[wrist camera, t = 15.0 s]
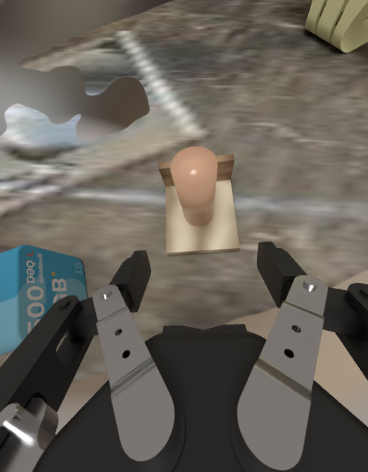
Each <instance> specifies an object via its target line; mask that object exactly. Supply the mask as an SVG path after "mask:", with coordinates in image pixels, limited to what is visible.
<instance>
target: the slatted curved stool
mask: <svg viewBox="0 0 368 472" xmlns="http://www.w3.org/2000/svg"><path fill="white" fill-rule="evenodd" d="M305 29H307V30H308V31H310V32H312V33H313V34H315V35H317V36H318V37H320V38H322V39H323V40H325V41H327V42H328V43H330V44H332V45H333V46H335V47H336V48H338V49H340V50H341V51H343V52H345V53H348V52H350V51H352V50H354V49H356V48H358V47H359V46H361V45H363V44H365V43H367V42H368V0H312V4H311V8H310V11H309V14H308V17H307V20H306V24H305Z"/></svg>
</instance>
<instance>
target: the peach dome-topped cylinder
mask: <svg viewBox="0 0 368 472" xmlns="http://www.w3.org/2000/svg"><path fill="white" fill-rule="evenodd" d="M217 168H218V162H217V158H216V156H215V155H214V154H213V153H212V152H211V151H210V150H208V149H206V148H203V147H189V148H186V149H183V150H181V151H180V152H179V153H177V154H176V155H175V157H174V158H173V160H172V162H171V166H170V170H171V174H172V178H173V181H174V184H175V187H176V191H177V194H178V197H179V201H180V204H181V207H182V211H183V214H184V217H185V219H186V221H187V222H188V223H189V224H191V225H193V226H204V225H206V224H208V223H209V222H210V221H211V219H212V218H213V214H214V203H215V191H216V179H217Z"/></svg>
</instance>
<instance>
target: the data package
mask: <svg viewBox="0 0 368 472" xmlns="http://www.w3.org/2000/svg"><path fill="white" fill-rule="evenodd" d="M69 295H75V296H77V297H78V299H79V301H81V300H84V299H87V292H86V284H85V277H84V269H83V264H82V262H81V261H80V260H79V259H78V258H76V257H72V256H69V255H65V254H61V253H57V252H53V251H49V250H45V249H42V248H38V247H34V246H30V245H21V246H19V247H16V248H13V249H10V250H8V251H5V252H2V253H0V355H3V354H6V353H9V352H12V351H14V350H15V349H16V348H17V347H18V346H19V344H20V343H21V342H22V341H23V340H24V339H25V337H26V336H27V335H28V334H29V333H30V331H31V330H32V329H33V328H34V327H35V325H36V324H37V323H38V322H39V321H40V319H41V318H42V317H43V316H44V315H45V313H46V312H47V311H48V310H49V309H50V308H51V306H52V305H53V304H54V303H55V302H57V301H58V300H60V299H61V298H63V297H66V296H69ZM64 335H65V334H64Z"/></svg>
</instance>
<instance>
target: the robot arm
mask: <svg viewBox="0 0 368 472" xmlns="http://www.w3.org/2000/svg"><path fill="white" fill-rule="evenodd" d="M10 249H13V248H12V247H8V246H3V245H0V253H2V252H5V251H8V250H10ZM257 267H258V270H259V272H260V274H261V276H262V278H263V280H264V282H265V284H266V286H267V288H268V290H269V292H270V294H271V296H272V298H273V299H274V301H275V303H276V305H277V307H278V308H280V310H279V312H278V315H277V317H276V319H275V322H274V324H273V326H272V329H271V331H270V333H269V336H268V338H267V340H266V339H264V338H263V337H261V336H259V335H257V334H254V333H251V332H247V330H246V327H245V324H240V325H239V324H237V325H236V324H235V325H221V326H218V327H214V328H210V329H207V330H200V329H195V328H191V327H187V326H164V327H163V333H160V334H158V335H155V336H153V337H152V338H150V339H149V340H147V341H146V342H144V340H143V338H142V336H141V334H140V332H139V330H138V328H137V325H136V323H135V321H134V319H133V317H132V315H131V312H138V309H139V306H140V303H141V301H142V298H143V295H144V292H145V289H146V286H147V284H148V281H149V278H150V275H151V267H150V263H149V259H148V255H147V252H146V250H140V251H135V252H134V253H133V255H132V257H131V258H128V259H126V260H125V261H124V262H123V263H122V265H121V266H120V268H119V270H118V272H117V273H116V274H115V276H114V277H113V279H112V281H111V282H110V284H109V285H107V286H104V287H102V288H100V289H99V290H97V291H96V292H95V294H94V295H93V297H91V298H88V299H84V300H81V301H79V299H78V297H77V296H75V295H69V296H66V297H63V298H61V299H60V300H58V301H57V302H55V303H54V304H53V305H52V306H51V308H50V309H49V310H48V311H47V312H46V313H45V315H44V316H43V317H42V318H41V319H40V321H39V322H38V323H37V324H36V325H35V327H34V328H33V329H32V330H31V331H30V333H29V334H28V335H27V336H26V337H25V339H24V340H23V341H22V342H21V343H20V344H19V346H18V347H17V348H16V349H15V350H14V352H13V353H12V354H11V355H10V356H9V358H8V359H7V360H6V361H5V362H4V364H3V365H2V366H1V367H0V472H368V427H367V426H366V425H365V424H364V423H363V422H361V421H360V420H359V419H358V418H357V417H356V416H354V415H353V414H352V413H351V412H350V411H349V410H348V409H346V408H345V407H344V406H343V405H342V404H341V403H339V402H338V401H337V400H336V399H335V398H334V397H333V396H332V395H330V394H329V393H328V392H327V391H326V390H324V388H322V387H321V386H320V385H319V384H318V383H317V382H315V381H314V380H313V379H314V374H315V368H316V362H317V356H318V351H319V345H320V340H321V334H322V329H324V330H328V331H332V332H335V333H336V335H337V336H338V338H339V339H340V340H341V342H342V343H343V345H344V346H345V348H346V349H347V351H348V352H349V354H350V355H351V357H352V358H353V360H354V361H355V362H356V364H357V365H358V367H359V368H360V370H361V371H362V373H363V374H364V376H365V377H366V379H367V380H368V285H367V284H362V283H354V284H351V285H349V287H348V290H341V289H335V288H329V287H327V285H326V284H325V283H324V282H323V281H321V280H320V279H318V278H315V277H312V276H308V275H307V274H306V273H305V272H304V271H303V269H302V268H301V267H300V266H299V265H298V264H297V263H296V262H295V260H294V259H293V258H292V257H291V256H290V255H289V253H288V252H286V251H285V250H283V249H281V248H276V246H275V245H274V244H273V243H272V242H259V245H258V255H257ZM64 334H65V335H66V338H65V339H64V341H63V342H62V344H61V346H60V347H59V349H58V350H57V352H56V348H57V346H58V344H59V342H60V340H61V339H62V337H63V336H64ZM98 334H99V338H100V342H101V347H102V351H103V356H104V360H105V365H106V369H107V373H108V378H109V380H108V381H107V382H106V383H105V384H104V385H103V386H102V387H101V388H100V389H99V390H98V391H97V392H96V393H95V395H94V396H93V397H92V398H91V399H90V400H89V401H88V402H87V403H86V404H85V405H84V406H83V407H82V408H81V409H80V410H79V411H78V412H77V414H76V415H75V416H74V417H73V418H72V419H71V420H70V421H69V422H68V423H67V424H66V425H65V426H64V427H63V428H62V429H61V430H60V431H59V432H58V434H57V435H55V432H56V429H57V426H58V414H57V411H58V409H59V407H60V405H61V403H62V401H63V399H64V397H65V395H66V393H67V391H68V389H69V387H70V385H71V382H72V380H73V378H74V376H75V374H76V372H77V370H78V368H79V366H80V364H81V362H82V360H83V358H84V355H85V353H86V351H87V349H88V347H89V345H90V343H91V341H92V339H93V337H94V336H95V335H98Z"/></svg>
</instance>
